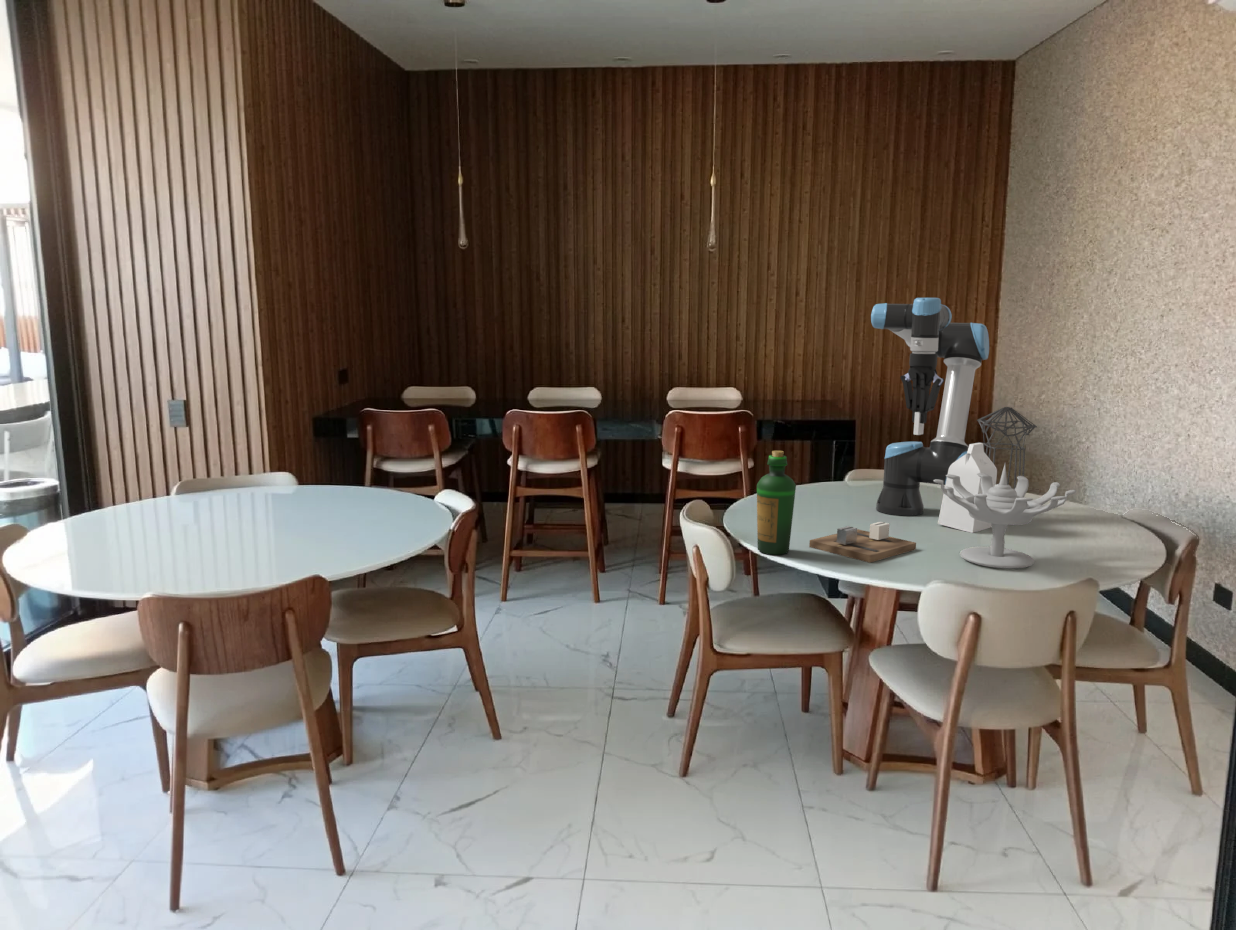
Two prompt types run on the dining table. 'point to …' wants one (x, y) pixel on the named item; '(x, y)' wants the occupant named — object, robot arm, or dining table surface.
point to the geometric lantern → (1001, 412)
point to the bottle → (775, 507)
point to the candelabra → (1001, 515)
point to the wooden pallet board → (864, 547)
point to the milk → (967, 488)
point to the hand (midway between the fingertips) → (918, 434)
